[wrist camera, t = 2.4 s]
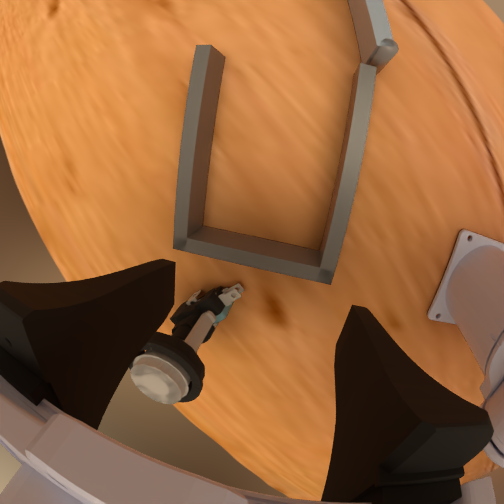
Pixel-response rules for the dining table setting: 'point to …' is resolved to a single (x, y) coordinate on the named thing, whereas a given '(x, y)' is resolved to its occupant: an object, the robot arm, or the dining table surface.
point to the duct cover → (373, 32)
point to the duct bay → (196, 174)
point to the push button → (181, 348)
